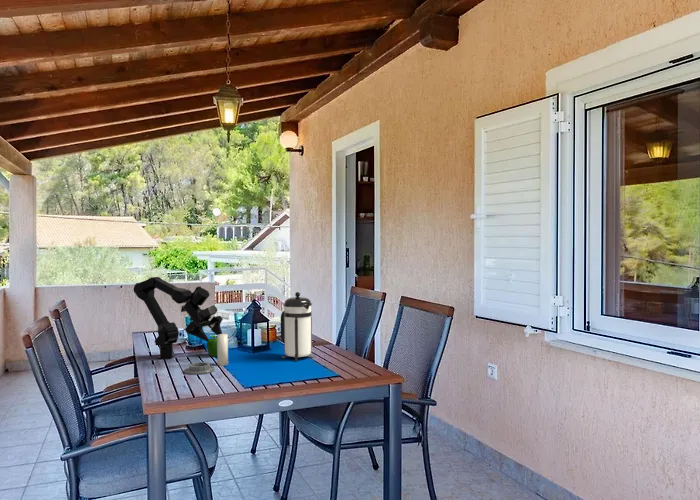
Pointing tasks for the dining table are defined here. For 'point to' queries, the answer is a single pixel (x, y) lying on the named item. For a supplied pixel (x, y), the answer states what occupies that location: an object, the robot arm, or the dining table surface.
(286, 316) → the coffee press
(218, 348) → the candle
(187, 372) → the holder
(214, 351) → the bell pepper
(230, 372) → the dining table surface
